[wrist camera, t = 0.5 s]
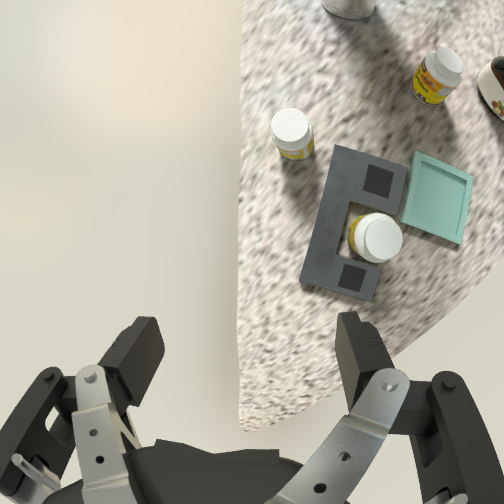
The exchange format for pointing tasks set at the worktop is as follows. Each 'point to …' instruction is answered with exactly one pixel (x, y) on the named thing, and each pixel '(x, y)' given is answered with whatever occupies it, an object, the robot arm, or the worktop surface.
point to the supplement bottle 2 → (375, 237)
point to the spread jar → (493, 86)
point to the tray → (437, 198)
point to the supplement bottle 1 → (292, 134)
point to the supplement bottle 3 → (437, 76)
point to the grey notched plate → (334, 214)
